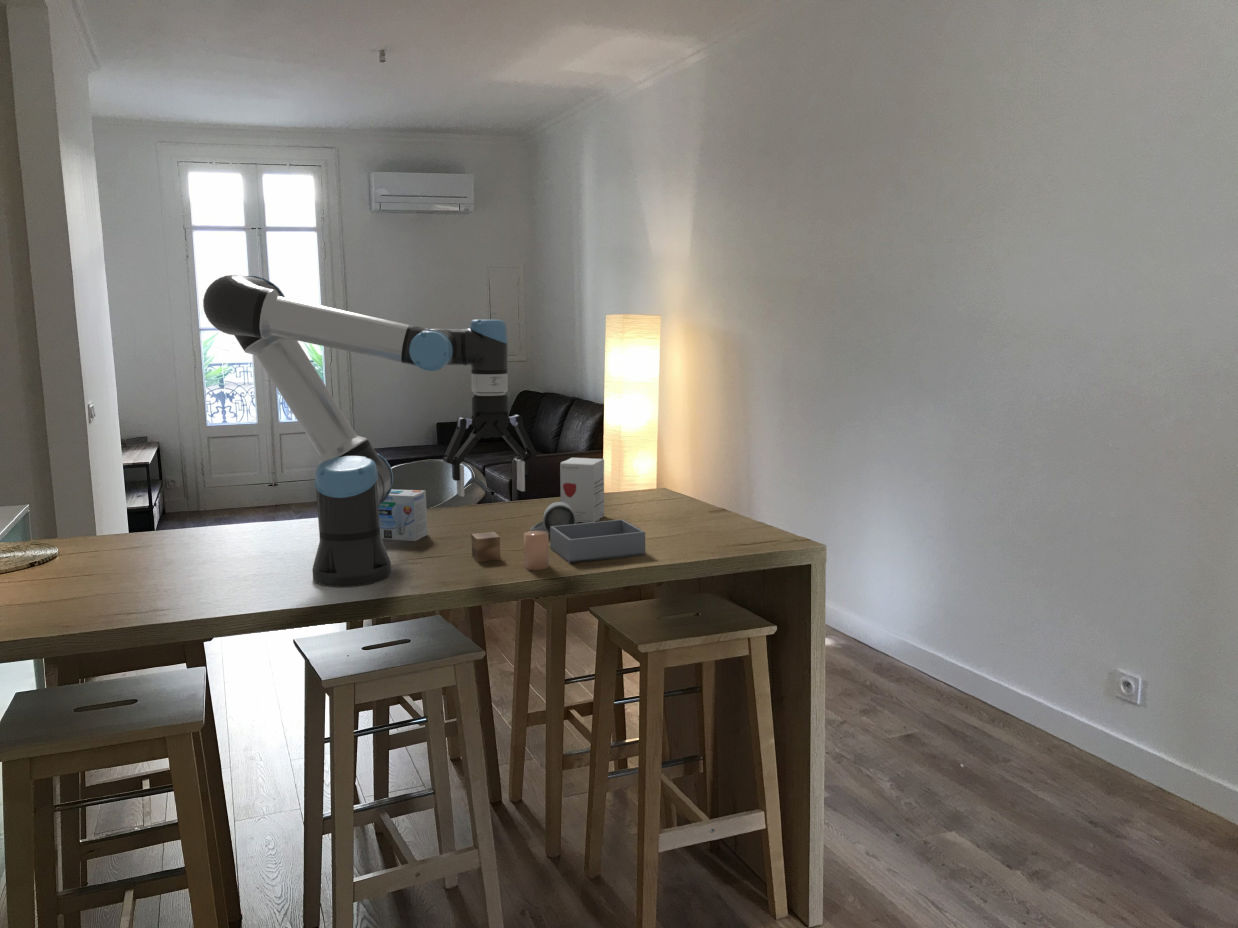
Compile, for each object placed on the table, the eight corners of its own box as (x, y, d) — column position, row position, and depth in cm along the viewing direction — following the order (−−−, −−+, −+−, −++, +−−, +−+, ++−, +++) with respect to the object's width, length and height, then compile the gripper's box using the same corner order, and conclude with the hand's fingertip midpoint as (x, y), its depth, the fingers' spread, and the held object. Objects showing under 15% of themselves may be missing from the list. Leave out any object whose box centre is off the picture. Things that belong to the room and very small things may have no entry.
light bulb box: (373, 539, 216) (371, 493, 215) (387, 532, 223) (385, 488, 221) (416, 541, 214) (413, 495, 212) (428, 534, 220) (426, 489, 218)
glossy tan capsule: (528, 571, 189) (527, 537, 188) (521, 564, 194) (520, 532, 192) (552, 568, 191) (551, 535, 190) (544, 562, 195) (544, 529, 194)
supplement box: (559, 522, 232) (558, 462, 229) (571, 514, 240) (570, 456, 237) (594, 524, 229) (593, 464, 226) (605, 516, 237) (604, 458, 235)
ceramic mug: (574, 528, 224) (573, 497, 223) (576, 537, 216) (575, 504, 215) (530, 531, 223) (528, 499, 222) (530, 539, 215) (529, 507, 214)
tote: (569, 563, 194) (568, 540, 193) (550, 548, 206) (550, 526, 205) (645, 554, 200) (645, 532, 199) (622, 540, 212) (622, 519, 212)
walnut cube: (477, 562, 196) (476, 539, 195) (472, 556, 201) (471, 533, 200) (500, 559, 198) (499, 536, 197) (494, 554, 203) (494, 531, 202)
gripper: (437, 397, 187) (439, 501, 190) (551, 393, 198) (551, 490, 202) (426, 394, 193) (429, 494, 197) (537, 390, 205) (538, 484, 208)
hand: (491, 492), depth 199 cm, fingers open, 13 cm apart
